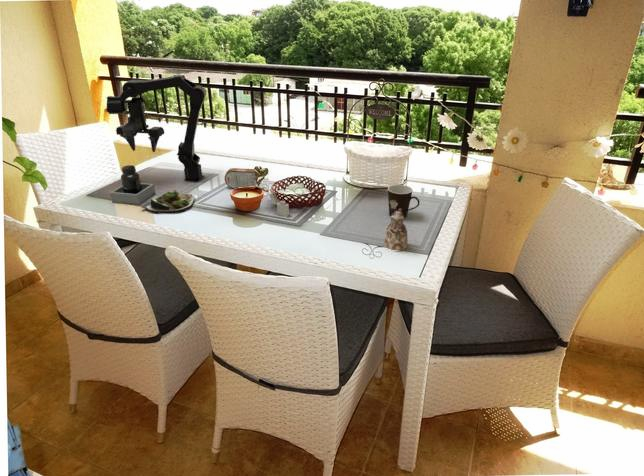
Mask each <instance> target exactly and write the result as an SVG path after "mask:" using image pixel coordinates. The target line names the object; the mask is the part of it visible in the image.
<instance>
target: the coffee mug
mask: <svg viewBox="0 0 644 476" xmlns="http://www.w3.org/2000/svg"><path fill="white" fill-rule="evenodd" d="M412 193H413V188H412V187H411V186H409V185H403V184H393V185H389V186H388V188H387V196H388V197H387V199H388V215H389V217H390V218H391V216H392V214H393V213H394V212H395V211H398V210H399V209H402V213H403V216H404V219H405V218H407V216H408V214H409V213H408V212H409V211H412V210H415V209H417V208H418V207H419V206H420V203H421V202H420V199H419V198H418V197H417V196H412V195H413V194H412ZM412 199H415V200H416V201H417V205H416V206H414V207H412V208H411V207H410V203H411V200H412Z"/></svg>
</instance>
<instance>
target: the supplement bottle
mask: <svg viewBox="0 0 644 476" xmlns="http://www.w3.org/2000/svg"><path fill="white" fill-rule="evenodd" d="M121 173H122V174H121V175H120V181H121V186H123V191H124V193H129V194H138V193H139V192H141V191H142V186H141V183H142V182H141V176H140V173H138V172H137V169H136V166H135V165H133V164H132V165H129V164H128V165H124V166H121Z"/></svg>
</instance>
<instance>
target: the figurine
mask: <svg viewBox="0 0 644 476" xmlns="http://www.w3.org/2000/svg"><path fill="white" fill-rule="evenodd" d="M404 219H405V218H404V216H403V213H402V209H399V210H398V211H395V212H394V213H393V214H392V216H391V217H390V224H388V226H387V228H386V231H385V232H386V233H385V237H384V243H383V244H384V246H385V245H386V247H387V248H388V249H391V250H403V251H404V249H405V248H406V249H407V247H408V242H409V241H408V238H409V237H408V229H407V227H406V224H404ZM386 247H385V248H386ZM387 248H386V249H387ZM388 249H387V250H388ZM406 249H405V250H406ZM391 250H390V251H391Z"/></svg>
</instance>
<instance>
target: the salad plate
mask: <svg viewBox="0 0 644 476" xmlns="http://www.w3.org/2000/svg"><path fill="white" fill-rule="evenodd" d="M195 197H196V196H195V195H194V194H192V193H179V192H178V191H177V190H175V189H174V190H171V191H167V192H165V193H163V194H159V195H156V196H153V197H152V198H151V199H150V201H149V202H147V203H145V204H143V205H142V206H141V209H145V210H147V211H149V212H150V213H153V214H160V215H161V214H166V215H167V214H168V215H169V214H178V213H179V214H180V213H183V212H185V211H188V210H189V209H190V208H191V207H193V203H194V200H195Z"/></svg>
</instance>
